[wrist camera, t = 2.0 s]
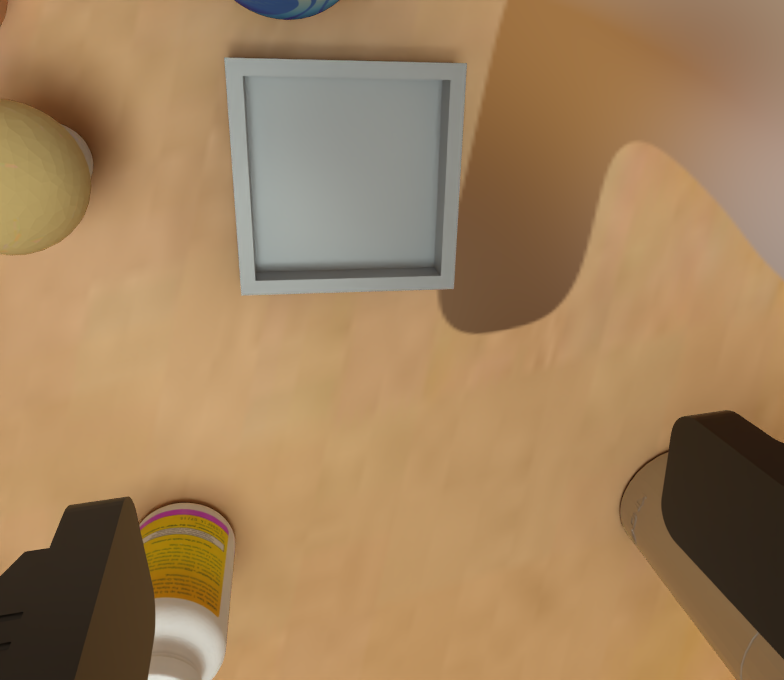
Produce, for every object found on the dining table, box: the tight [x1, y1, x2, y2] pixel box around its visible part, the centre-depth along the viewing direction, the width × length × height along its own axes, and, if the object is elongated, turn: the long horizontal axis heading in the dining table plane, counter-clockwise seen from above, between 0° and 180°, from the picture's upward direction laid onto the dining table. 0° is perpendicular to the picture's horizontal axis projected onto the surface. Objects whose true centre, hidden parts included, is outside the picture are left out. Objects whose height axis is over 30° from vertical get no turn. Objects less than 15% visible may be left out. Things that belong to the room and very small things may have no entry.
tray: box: [224, 58, 467, 295], centre depth 36 cm, size 12×12×2 cm
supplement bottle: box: [139, 503, 235, 680], centre depth 38 cm, size 7×7×13 cm
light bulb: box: [0, 99, 93, 255], centre depth 29 cm, size 6×6×10 cm
